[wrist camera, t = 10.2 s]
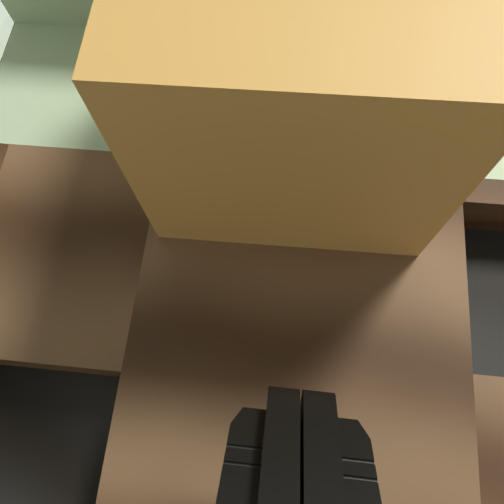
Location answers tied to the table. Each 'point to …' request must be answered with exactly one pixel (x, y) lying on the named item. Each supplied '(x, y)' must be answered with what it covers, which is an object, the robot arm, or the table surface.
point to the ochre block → (298, 115)
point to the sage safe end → (54, 79)
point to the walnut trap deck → (232, 344)
